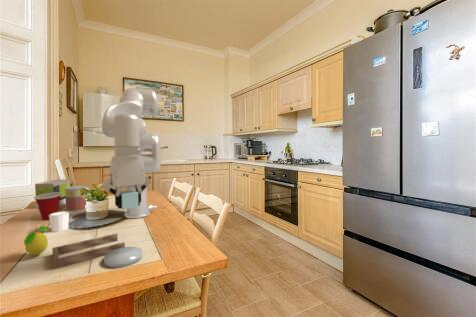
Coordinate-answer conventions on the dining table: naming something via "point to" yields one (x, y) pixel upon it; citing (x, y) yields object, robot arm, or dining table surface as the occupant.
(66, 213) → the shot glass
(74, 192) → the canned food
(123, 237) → the dining table surface
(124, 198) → the teal cube
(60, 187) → the tea box
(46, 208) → the plastic cup
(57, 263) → the frame
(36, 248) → the lemon
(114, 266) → the grey round disc
